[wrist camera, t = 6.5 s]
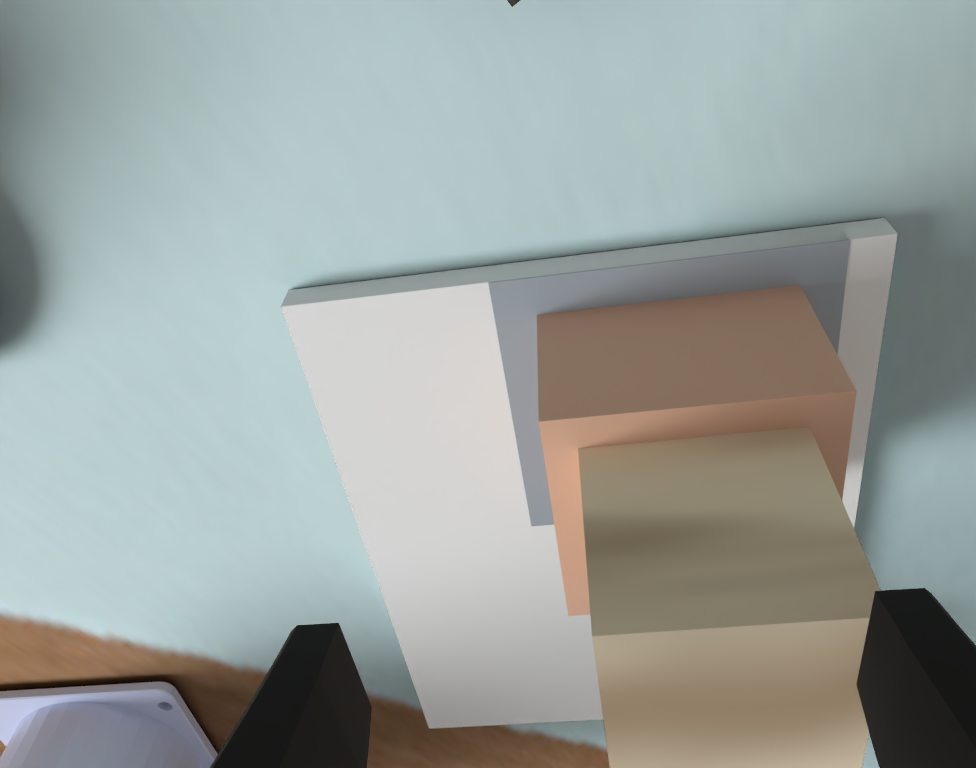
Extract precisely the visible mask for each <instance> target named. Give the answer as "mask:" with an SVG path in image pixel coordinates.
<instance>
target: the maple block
mask: <svg viewBox="0 0 976 768" xmlns="http://www.w3.org/2000/svg"><path fill="white" fill-rule="evenodd" d="M578 457H579V470H580V483H581V497H582V510H583V523H584V537H585V550H586V563H587V577H588V590H589V603H590V617H591V630H592V640H593V647H594V655H595V662H596V670H597V677H598V684H599V692H600V699H601V707H602V714H603V721H604V729H605V736H606V743H607V751H608V758H609V766H610V768H862V765H863V760H864V755H865V750H866V745H867V740H868V735H869V730H868V726H867V723H866V719H865V715H864V711H863V707H862V704H861V700H860V696H859V692H858V689H857V685H856V683H857V678H858V673H859V668H860V664H861V659H862V654H863V649H864V644H865V639H866V634H867V629H868V624H869V619H870V614H871V609H872V604H873V599H874V594H875V591H881V590H880V587H879V585H878V583H877V580H876V578H875V576H874V574H873V571H872V569H871V567H870V564H869V562H868V560H867V557H866V555H865V553H864V551H863V548H862V546H861V544H860V541H859V539H858V537H857V534H856V532H855V530H854V528H853V525H852V523H851V521H850V518H849V516H848V514H847V511H846V509H845V507H844V505H843V502H842V500H841V498H840V495H839V493H838V491H837V488H836V486H835V484H834V482H833V479H832V477H831V475H830V472H829V470H828V468H827V465H826V463H825V461H824V459H823V456H822V454H821V452H820V449H819V447H818V445H817V442H816V440H815V438H814V436H813V433H812V431H811V429H810V427H801V428H790V429H780V430H769V431H759V432H748V433H738V434H727V435H716V436H706V437H695V438H685V439H674V440H664V441H653V442H642V443H632V444H621V445H611V446H600V447H590V448H579V449H578Z"/></svg>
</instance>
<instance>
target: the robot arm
mask: <svg viewBox="0 0 976 768" xmlns="http://www.w3.org/2000/svg"><path fill="white" fill-rule="evenodd" d="M856 685H857V689H858V692H859V696H860V700H861V704H862V707H863V711H864V715H865V719H866V723H867V726H868V730H869V733H870V737H871V740H872V744H873V747H874V751H875V754H876V758H877V761H878V764H879V767H880V768H976V645H975V644H974V643H973V642H972V641H971V640H970V639H969V637H968V636H967V635H966V634H965V633H964V632H963V630H962V629H961V628H960V627H959V626H958V624H957V623H956V622H955V621H954V620H953V619H952V617H951V616H950V615H949V614H948V613H947V612H946V610H945V609H944V608H943V607H942V606H941V604H940V603H939V602H938V601H937V600H936V598H935V597H934V596H933V595H932V594H931V593H930V592H929V591H927V590H926V589H925V588H919V589H902V590H886V591H875V594H874V599H873V604H872V609H871V614H870V619H869V624H868V629H867V634H866V639H865V644H864V649H863V654H862V659H861V664H860V668H859V673H858V678H857V683H856ZM371 708H372V707H371V704H370V702H369V699H368V697H367V694H366V692H365V689H364V686H363V684H362V681H361V679H360V676H359V674H358V671H357V669H356V666H355V663H354V661H353V658H352V656H351V653H350V651H349V648H348V646H347V643H346V640H345V638H344V635H343V633H342V630H341V628H340V625H339V623H331V624H314V625H297V626H296V627H295V628H294V629H293V630H292V631H291V633H290V635H289V637H288V638H287V640H286V642H285V644H284V645H283V647H282V649H281V651H280V652H279V654H278V656H277V658H276V659H275V661H274V663H273V665H272V666H271V668H270V670H269V672H268V673H267V675H266V677H265V678H264V680H263V682H262V684H261V685H260V687H259V689H258V690H257V692H256V694H255V695H254V697H253V699H252V700H251V702H250V704H249V705H248V707H247V709H246V710H245V712H244V714H243V715H242V717H241V719H240V720H239V722H238V724H237V725H236V727H235V728H234V730H233V732H232V733H231V735H230V736H229V738H228V739H227V741H226V743H225V744H224V746H223V747H222V749H221V751H220V752H219V754H217V752H216V751H215V749H214V748H213V746H212V745H211V743H210V741H209V740H208V738H207V737H206V735H205V734H204V732H203V730H202V729H201V727H200V726H199V724H198V723H197V721H196V719H195V718H194V716H193V715H192V713H191V712H190V710H189V709H188V707H187V705H186V704H185V702H184V701H183V699H182V698H181V696H180V694H179V693H178V691H177V690H176V688H175V687H174V686H173V685H171V684H169V683H167V682H160V681H158V682H142V683H126V684H110V685H94V686H77V687H61V688H45V689H29V690H13V691H0V740H1V741H2V742H3V743H4V745H5V746H6V748H5V750H4V752H3V754H2V756H1V758H0V768H366V767H367V757H368V746H369V733H370V721H371Z"/></svg>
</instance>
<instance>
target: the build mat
mask: <svg viewBox="0 0 976 768" xmlns="http://www.w3.org/2000/svg"><path fill="white" fill-rule="evenodd" d="M897 235H898V233H897V232H896V231H895V230H894V229H893V227H892V226H891V225H890V224H889V222H888V221H887V220H886V219H885V218H880V219H872V220H863V221H855V222H847V223H839V224H830V225H822V226H814V227H806V228H797V229H789V230H781V231H773V232H764V233H756V234H748V235H740V236H731V237H723V238H715V239H706V240H698V241H690V242H682V243H673V244H665V245H657V246H649V247H640V248H632V249H624V250H616V251H607V252H599V253H591V254H582V255H574V256H566V257H558V258H549V259H541V260H533V261H525V262H516V263H508V264H500V265H492V266H483V267H475V268H467V269H458V270H450V271H442V272H434V273H425V274H417V275H409V276H401V277H392V278H384V279H376V280H368V281H359V282H351V283H343V284H335V285H326V286H318V287H310V288H301V289H293V290H288V292H287V295H286V297H285V299H284V301H283V303H282V305H281V309H282V312H283V315H284V317H285V320H286V323H287V326H288V329H289V332H290V335H291V337H292V340H293V343H294V346H295V349H296V352H297V354H298V357H299V360H300V363H301V366H302V369H303V372H304V374H305V377H306V380H307V383H308V386H309V389H310V391H311V394H312V397H313V400H314V403H315V406H316V409H317V411H318V414H319V417H320V420H321V423H322V426H323V428H324V431H325V434H326V437H327V440H328V443H329V446H330V448H331V451H332V454H333V457H334V460H335V463H336V465H337V468H338V471H339V474H340V477H341V480H342V483H343V485H344V488H345V491H346V494H347V497H348V500H349V502H350V505H351V508H352V511H353V514H354V517H355V519H356V522H357V525H358V528H359V531H360V534H361V537H362V539H363V542H364V545H365V548H366V551H367V554H368V556H369V559H370V562H371V565H372V568H373V571H374V574H375V576H376V579H377V582H378V585H379V588H380V591H381V593H382V596H383V599H384V602H385V605H386V608H387V611H388V613H389V616H390V619H391V622H392V625H393V628H394V630H395V633H396V636H397V639H398V642H399V645H400V648H401V650H402V653H403V656H404V659H405V662H406V665H407V667H408V670H409V673H410V676H411V679H412V682H413V685H414V687H415V690H416V693H417V696H418V699H419V702H420V704H421V707H422V710H423V713H424V716H425V719H426V721H427V724H428V727H429V729H433V728H452V727H471V726H490V725H510V724H529V723H548V722H567V721H587V720H603V714H602V707H601V699H600V692H599V684H598V677H597V670H596V662H595V655H594V647H593V640H592V630H591V617H590V615H577V616H568V610H567V604H566V597H565V591H564V584H563V578H562V571H561V565H560V558H559V552H558V545H557V539H556V532H555V526H554V519H553V513H552V506H551V499H550V493H549V486H548V480H547V473H546V467H545V460H544V454H543V447H542V441H541V434H540V428H539V416H538V358H537V315H541V314H550V313H559V312H567V311H576V310H585V309H594V308H603V307H612V306H621V305H630V304H639V303H647V302H656V301H665V300H674V299H683V298H692V297H701V296H710V295H719V294H728V293H736V292H745V291H754V290H763V289H772V288H781V287H790V286H799V285H800V286H801V288H802V290H803V292H804V294H805V296H806V297H807V299H808V301H809V303H810V305H811V307H812V309H813V310H814V312H815V314H816V316H817V318H818V320H819V322H820V323H821V325H822V327H823V329H824V331H825V333H826V335H827V337H828V338H829V340H830V342H831V344H832V346H833V348H834V350H835V351H836V353H837V355H838V357H839V359H840V361H841V363H842V364H843V366H844V368H845V370H846V372H847V374H848V376H849V377H850V379H851V381H852V383H853V385H854V387H855V389H856V391H857V393H856V400H855V408H854V415H853V423H852V430H851V438H850V446H849V453H848V461H847V468H846V476H845V483H844V491H843V498H842V502H843V505H844V507H845V509H846V511H847V514H848V516H849V518H850V521H851V523H852V525H853V528H854V526H855V520H856V513H857V506H858V499H859V492H860V486H861V479H862V472H863V465H864V459H865V452H866V445H867V438H868V432H869V425H870V418H871V411H872V404H873V398H874V391H875V384H876V377H877V371H878V364H879V357H880V350H881V344H882V337H883V330H884V323H885V317H886V310H887V303H888V296H889V289H890V283H891V276H892V269H893V262H894V256H895V249H896V242H897Z"/></svg>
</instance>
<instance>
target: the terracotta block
mask: <svg viewBox="0 0 976 768" xmlns="http://www.w3.org/2000/svg"><path fill="white" fill-rule="evenodd" d="M537 358H538V416H539V428H540V434H541V441H542V447H543V454H544V460H545V467H546V473H547V480H548V486H549V493H550V499H551V506H552V513H553V519H554V526H555V532H556V539H557V545H558V552H559V558H560V565H561V571H562V578H563V584H564V591H565V597H566V604H567V610H568V616H577V615H590V603H589V590H588V577H587V563H586V550H585V537H584V523H583V510H582V497H581V483H580V470H579V457H578V449H579V448H590V447H600V446H611V445H621V444H632V443H642V442H653V441H664V440H674V439H685V438H695V437H706V436H716V435H727V434H738V433H748V432H759V431H769V430H780V429H790V428H801V427H810V429H811V431H812V433H813V436H814V438H815V440H816V442H817V445H818V447H819V449H820V452H821V454H822V456H823V459H824V461H825V463H826V465H827V468H828V470H829V472H830V475H831V477H832V479H833V482H834V484H835V486H836V488H837V491H838V493H839V495H840V498H841V500H842V498H843V491H844V483H845V476H846V468H847V461H848V453H849V446H850V438H851V430H852V423H853V415H854V408H855V400H856V393H857V391H856V389H855V387H854V385H853V383H852V381H851V379H850V377H849V376H848V374H847V372H846V370H845V368H844V366H843V364H842V363H841V361H840V359H839V357H838V355H837V353H836V351H835V350H834V348H833V346H832V344H831V342H830V340H829V338H828V337H827V335H826V333H825V331H824V329H823V327H822V325H821V323H820V322H819V320H818V318H817V316H816V314H815V312H814V310H813V309H812V307H811V305H810V303H809V301H808V299H807V297H806V296H805V294H804V292H803V290H802V288H801V286H800V285H799V286H790V287H781V288H772V289H763V290H754V291H745V292H736V293H728V294H719V295H710V296H701V297H692V298H683V299H674V300H665V301H656V302H647V303H639V304H630V305H621V306H612V307H603V308H594V309H585V310H576V311H567V312H559V313H550V314H541V315H537Z"/></svg>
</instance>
